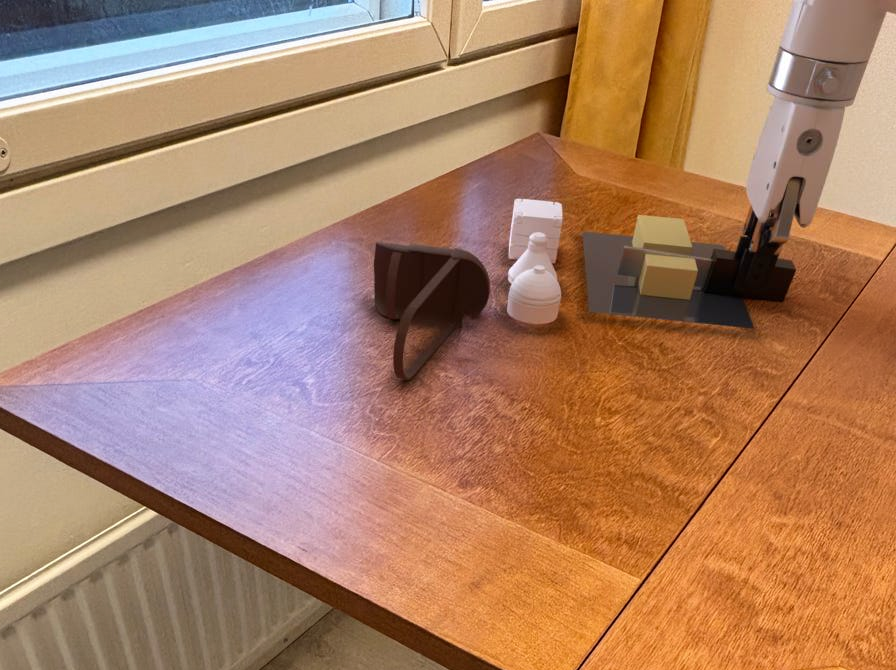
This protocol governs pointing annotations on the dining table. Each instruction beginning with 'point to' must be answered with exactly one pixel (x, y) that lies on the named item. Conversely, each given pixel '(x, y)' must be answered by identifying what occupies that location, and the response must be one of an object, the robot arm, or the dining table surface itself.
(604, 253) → the slate board
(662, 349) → the dining table surface
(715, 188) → the dining table surface
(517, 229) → the container set
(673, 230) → the butter block
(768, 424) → the dining table surface
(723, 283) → the knife
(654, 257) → the butter pat
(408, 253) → the brown basket
